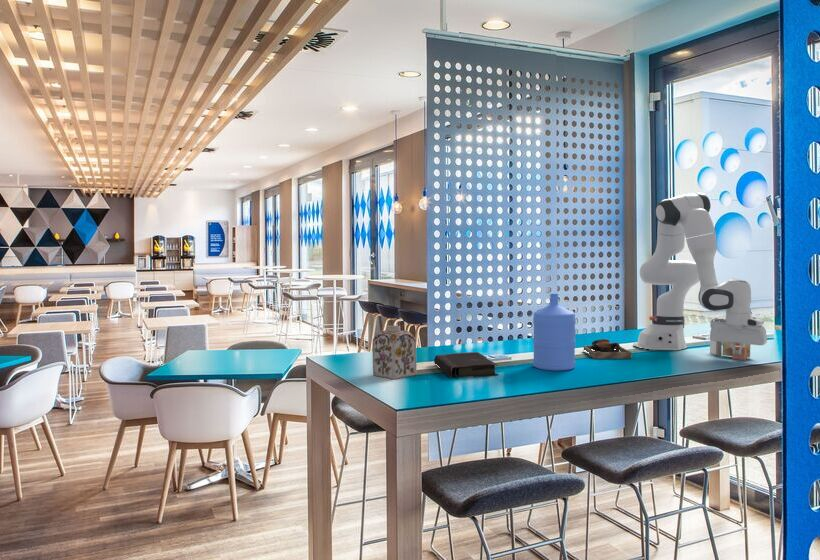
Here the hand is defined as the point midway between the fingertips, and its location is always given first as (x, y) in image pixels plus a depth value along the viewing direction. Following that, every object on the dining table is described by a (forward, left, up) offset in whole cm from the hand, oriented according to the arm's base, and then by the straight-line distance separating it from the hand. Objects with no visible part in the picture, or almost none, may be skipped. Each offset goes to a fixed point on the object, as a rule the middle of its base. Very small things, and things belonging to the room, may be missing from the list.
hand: (737, 354), depth 252 cm
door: (+3, +6, -2) cm, 7 cm away
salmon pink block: (+2, +2, -2) cm, 4 cm away
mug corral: (-48, +12, -2) cm, 50 cm away
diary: (-109, -19, -3) cm, 111 cm away
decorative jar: (-135, -28, -3) cm, 138 cm away
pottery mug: (-49, +9, -3) cm, 50 cm away
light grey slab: (-3, +13, -2) cm, 13 cm away
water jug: (-75, -14, -2) cm, 76 cm away
